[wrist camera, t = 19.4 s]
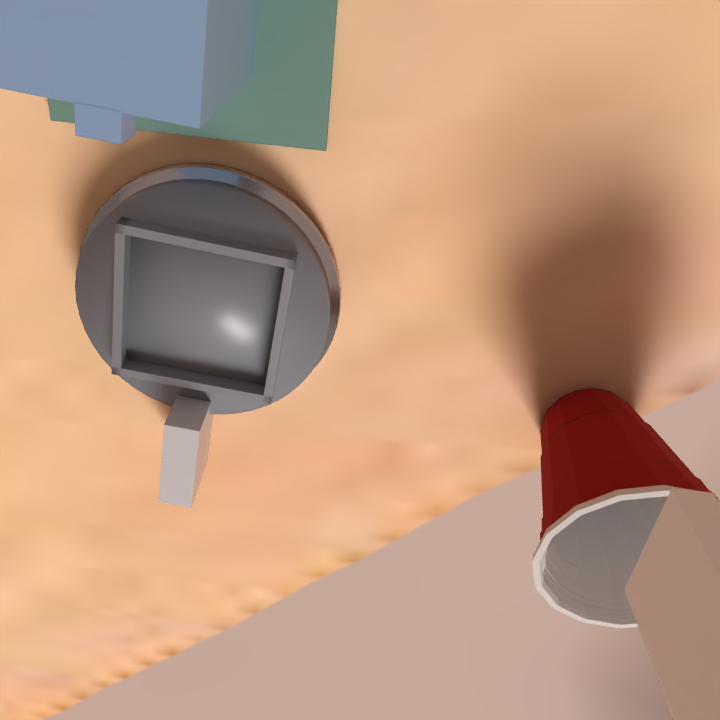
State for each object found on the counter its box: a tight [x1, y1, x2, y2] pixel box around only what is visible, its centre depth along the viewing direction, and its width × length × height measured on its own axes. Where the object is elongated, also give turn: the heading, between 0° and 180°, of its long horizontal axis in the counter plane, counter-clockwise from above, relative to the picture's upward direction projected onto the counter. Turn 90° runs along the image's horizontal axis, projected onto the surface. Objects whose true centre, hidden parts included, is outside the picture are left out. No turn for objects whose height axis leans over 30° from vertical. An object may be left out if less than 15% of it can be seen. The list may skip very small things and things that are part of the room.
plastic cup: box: [532, 389, 720, 628], centre depth 39 cm, size 11×11×12 cm
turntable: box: [75, 179, 331, 508], centre depth 38 cm, size 14×19×4 cm
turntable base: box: [80, 163, 341, 369], centre depth 39 cm, size 15×15×1 cm
